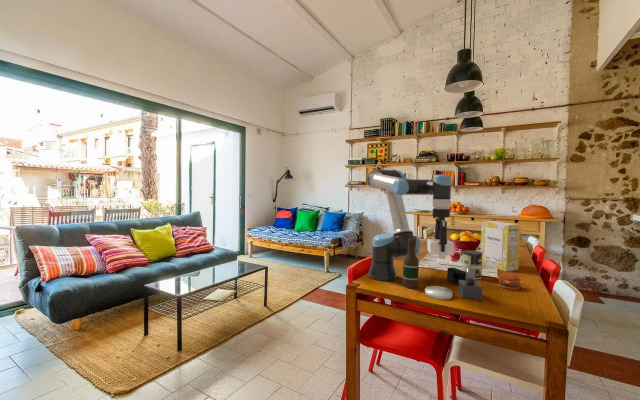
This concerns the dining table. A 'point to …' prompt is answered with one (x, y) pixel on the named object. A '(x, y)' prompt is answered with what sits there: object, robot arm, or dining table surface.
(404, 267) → the beer bottle
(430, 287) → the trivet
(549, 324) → the dining table surface
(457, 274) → the digital camera
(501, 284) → the hamburger
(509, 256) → the pasta box
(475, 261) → the coffee can
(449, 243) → the white square open box
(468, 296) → the post stand
